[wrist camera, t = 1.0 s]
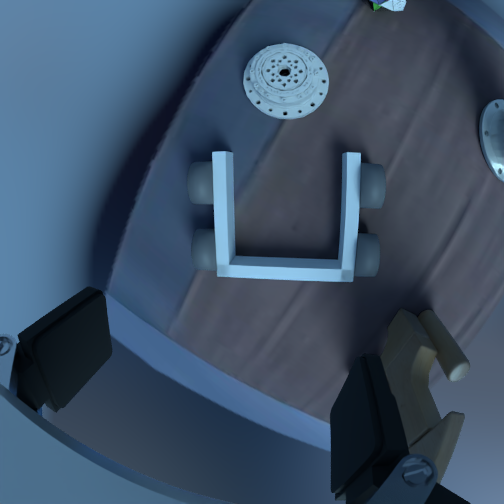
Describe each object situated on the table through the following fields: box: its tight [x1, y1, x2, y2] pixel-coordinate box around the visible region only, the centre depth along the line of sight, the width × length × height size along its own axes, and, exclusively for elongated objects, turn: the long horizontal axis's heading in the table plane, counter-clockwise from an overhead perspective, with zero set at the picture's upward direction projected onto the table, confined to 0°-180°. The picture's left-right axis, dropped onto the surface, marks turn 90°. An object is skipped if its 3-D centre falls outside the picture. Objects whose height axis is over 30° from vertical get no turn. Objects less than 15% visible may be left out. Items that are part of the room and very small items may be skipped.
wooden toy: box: [380, 308, 470, 484], centre depth 25 cm, size 15×7×25 cm, turn 157°
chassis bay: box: [187, 151, 386, 282], centre depth 31 cm, size 21×14×5 cm
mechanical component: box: [243, 43, 329, 119], centre depth 27 cm, size 10×4×10 cm
